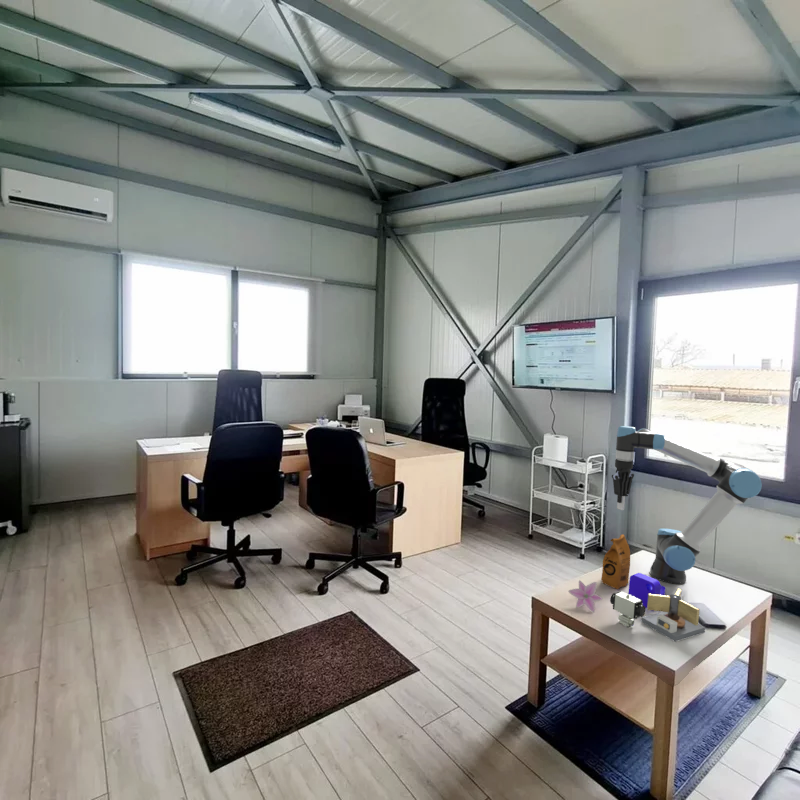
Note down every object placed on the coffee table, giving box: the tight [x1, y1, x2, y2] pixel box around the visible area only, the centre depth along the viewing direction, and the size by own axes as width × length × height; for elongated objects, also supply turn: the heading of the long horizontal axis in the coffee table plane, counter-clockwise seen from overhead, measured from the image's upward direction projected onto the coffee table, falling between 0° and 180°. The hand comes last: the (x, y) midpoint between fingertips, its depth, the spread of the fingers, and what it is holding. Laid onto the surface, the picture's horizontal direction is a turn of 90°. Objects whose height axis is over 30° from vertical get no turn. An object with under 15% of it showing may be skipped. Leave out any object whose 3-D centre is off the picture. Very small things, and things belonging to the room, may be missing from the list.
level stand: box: [641, 611, 706, 642], centre depth 183 cm, size 18×14×6 cm
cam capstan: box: [646, 588, 700, 628], centre depth 183 cm, size 17×15×10 cm
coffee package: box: [600, 534, 631, 590], centre depth 218 cm, size 10×12×22 cm
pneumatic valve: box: [609, 590, 646, 628], centre depth 184 cm, size 6×12×12 cm, turn 36°
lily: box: [568, 579, 603, 613], centre depth 197 cm, size 12×12×10 cm
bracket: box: [627, 572, 666, 612], centre depth 204 cm, size 18×11×12 cm, turn 124°
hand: (620, 509), depth 221 cm, fingers closed
